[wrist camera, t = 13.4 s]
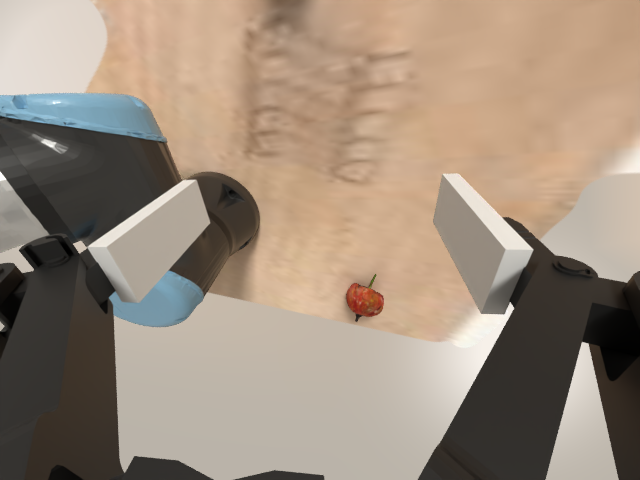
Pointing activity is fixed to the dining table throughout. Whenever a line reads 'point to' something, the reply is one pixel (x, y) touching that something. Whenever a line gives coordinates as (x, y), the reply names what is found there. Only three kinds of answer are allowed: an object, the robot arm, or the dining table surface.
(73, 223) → the robot arm
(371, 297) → the red fruit with stem
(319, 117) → the dining table surface
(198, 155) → the dining table surface
